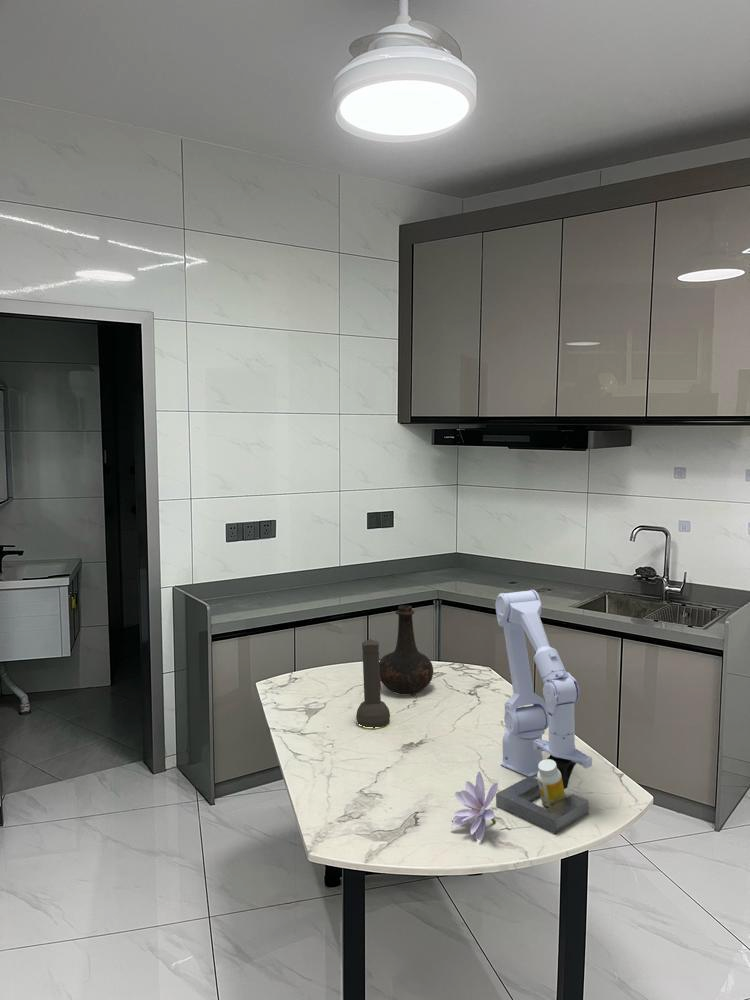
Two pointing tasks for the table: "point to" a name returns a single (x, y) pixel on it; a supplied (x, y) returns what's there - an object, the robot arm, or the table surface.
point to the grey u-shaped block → (549, 819)
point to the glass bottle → (405, 660)
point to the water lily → (475, 806)
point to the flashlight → (372, 689)
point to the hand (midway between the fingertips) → (562, 787)
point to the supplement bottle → (550, 783)
